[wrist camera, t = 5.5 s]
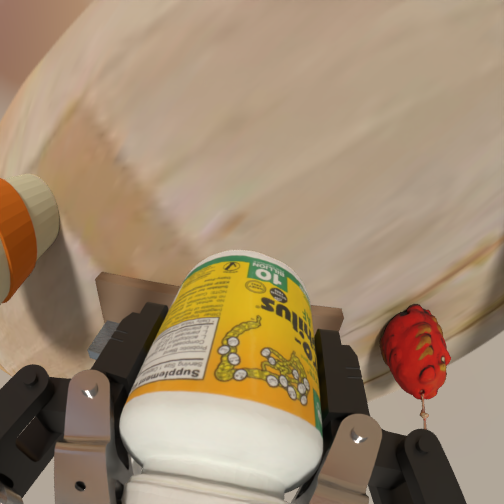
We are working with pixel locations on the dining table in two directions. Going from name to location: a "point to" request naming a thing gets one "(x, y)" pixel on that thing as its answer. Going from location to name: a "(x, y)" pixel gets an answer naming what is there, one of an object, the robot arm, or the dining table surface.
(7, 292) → the reusable coffee cup
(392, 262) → the dining table surface
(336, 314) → the board
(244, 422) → the supplement bottle
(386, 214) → the dining table surface
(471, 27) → the dining table surface
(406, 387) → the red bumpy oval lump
